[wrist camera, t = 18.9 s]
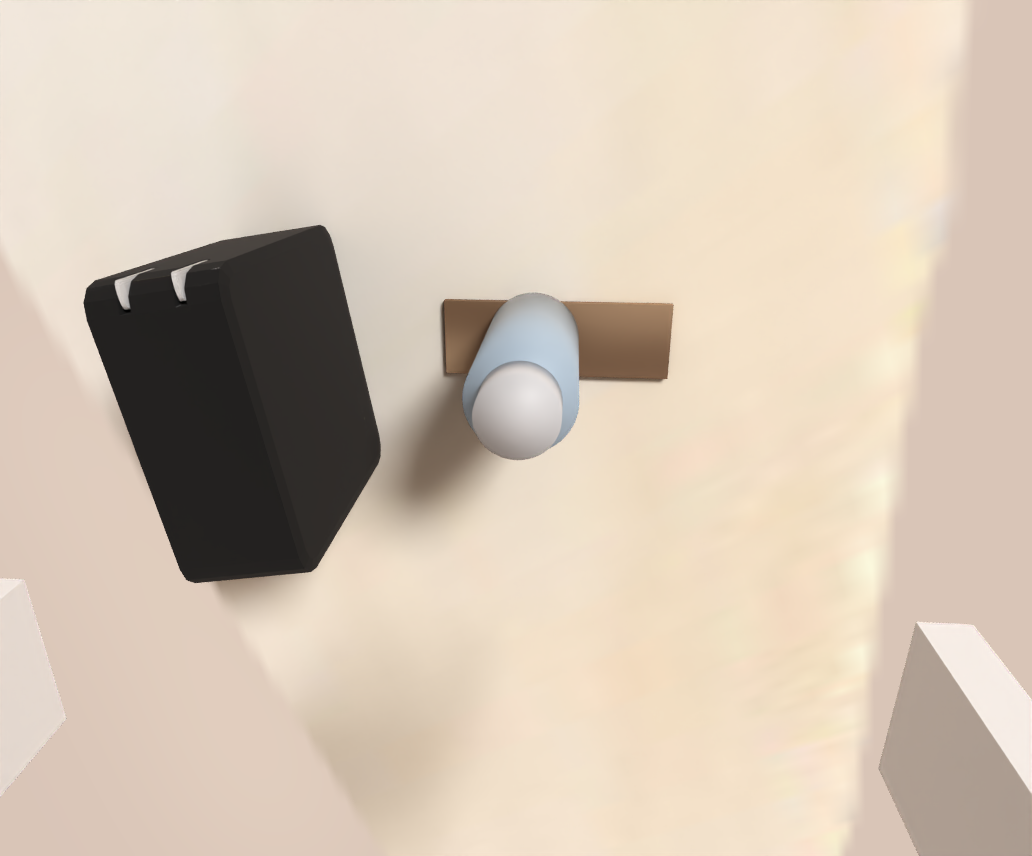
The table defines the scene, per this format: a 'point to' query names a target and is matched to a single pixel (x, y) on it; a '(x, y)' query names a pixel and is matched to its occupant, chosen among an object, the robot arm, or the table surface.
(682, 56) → the table surface
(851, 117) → the table surface
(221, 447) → the electronic device
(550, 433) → the marker peg
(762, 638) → the table surface
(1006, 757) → the robot arm
